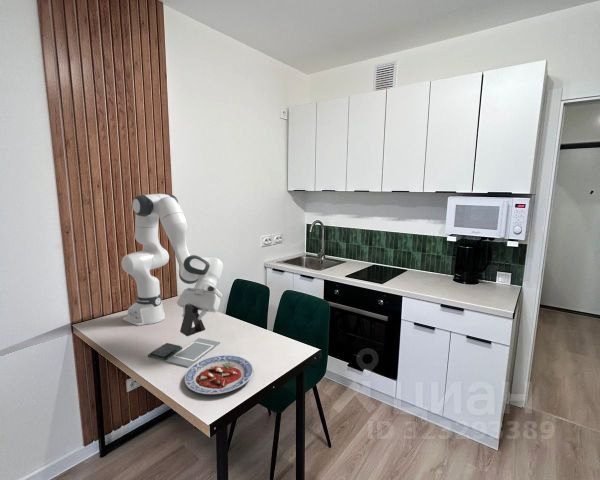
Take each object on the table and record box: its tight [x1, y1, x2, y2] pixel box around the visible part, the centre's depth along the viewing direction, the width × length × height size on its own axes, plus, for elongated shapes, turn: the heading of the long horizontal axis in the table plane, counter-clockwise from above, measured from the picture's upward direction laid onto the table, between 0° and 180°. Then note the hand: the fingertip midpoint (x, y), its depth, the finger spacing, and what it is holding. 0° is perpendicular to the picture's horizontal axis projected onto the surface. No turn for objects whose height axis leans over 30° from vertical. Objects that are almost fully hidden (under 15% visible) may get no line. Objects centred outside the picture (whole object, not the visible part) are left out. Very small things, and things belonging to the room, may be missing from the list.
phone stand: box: [179, 303, 206, 337], centre depth 144 cm, size 9×6×12 cm, turn 136°
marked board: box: [164, 337, 221, 369], centre depth 147 cm, size 12×22×1 cm, turn 159°
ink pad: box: [147, 342, 183, 362], centre depth 146 cm, size 9×11×2 cm
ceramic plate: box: [184, 354, 254, 395], centre depth 128 cm, size 26×26×3 cm
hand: (191, 318), depth 143 cm, fingers closed on phone stand, 6 cm apart
